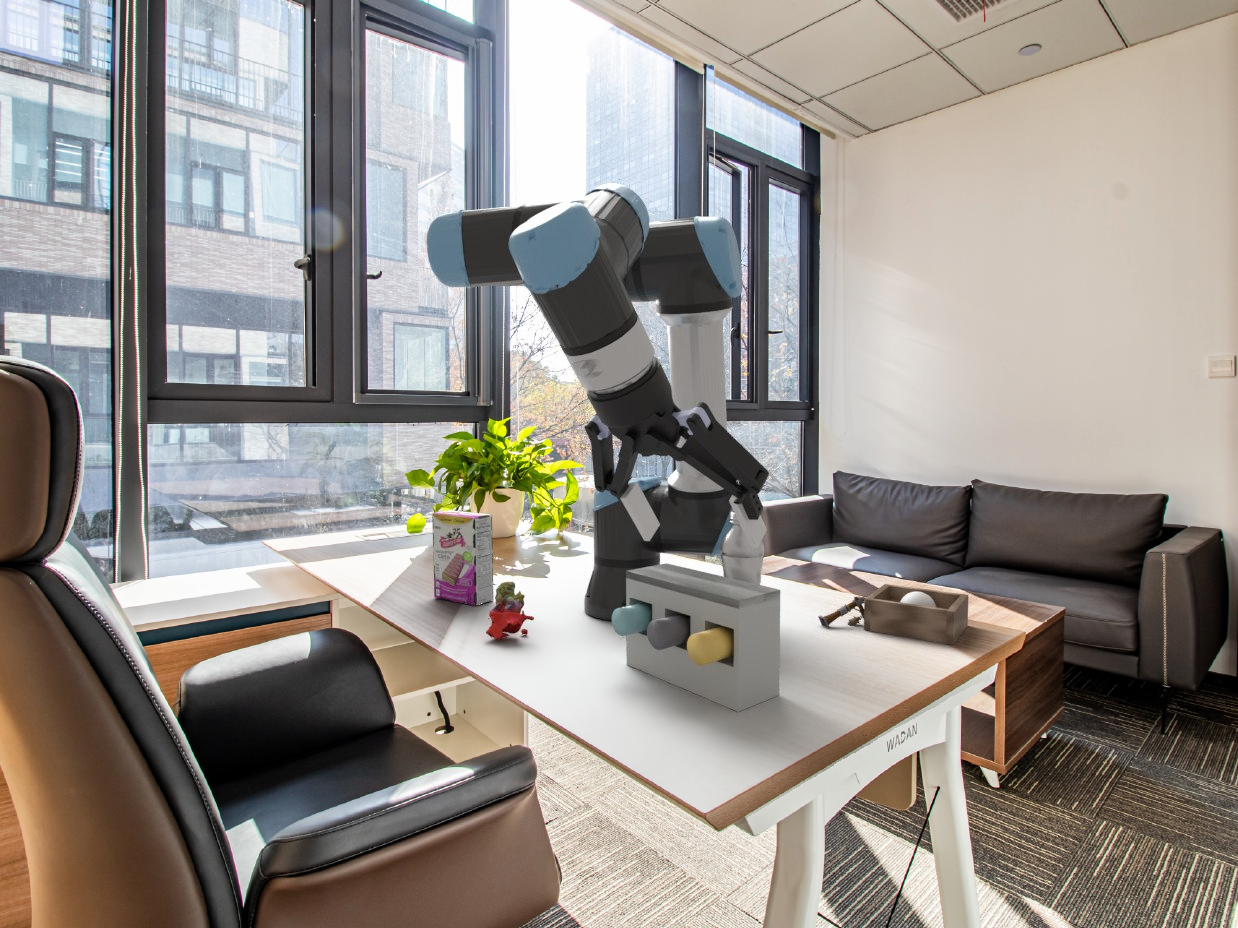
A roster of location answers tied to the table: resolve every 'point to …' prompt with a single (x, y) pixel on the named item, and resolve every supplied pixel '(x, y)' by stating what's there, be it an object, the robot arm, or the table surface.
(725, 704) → the console
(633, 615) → the teal button
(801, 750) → the table surface
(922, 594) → the white egg
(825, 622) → the wooden post with brackets
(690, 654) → the amber button
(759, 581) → the plastic bottle
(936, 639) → the organizer frame
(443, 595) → the candy bar box
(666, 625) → the charcoal button
